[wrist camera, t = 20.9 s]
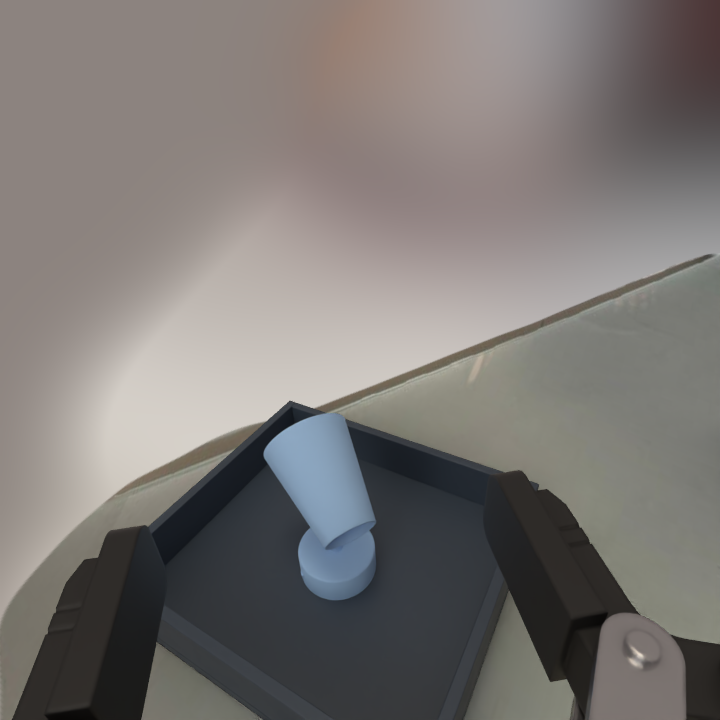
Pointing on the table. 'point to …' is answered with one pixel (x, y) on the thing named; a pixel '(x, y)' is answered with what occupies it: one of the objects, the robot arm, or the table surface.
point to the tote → (334, 617)
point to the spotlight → (327, 504)
